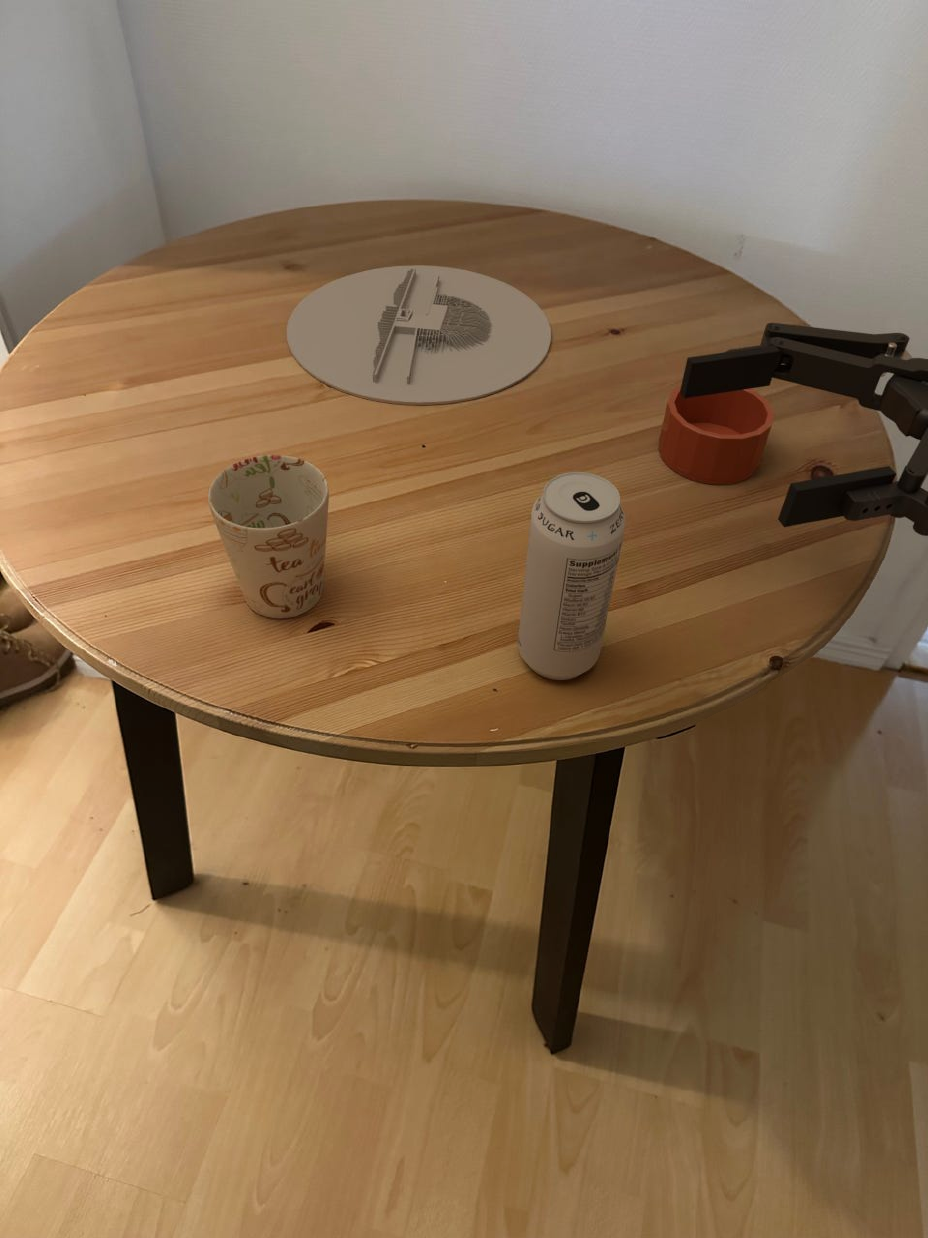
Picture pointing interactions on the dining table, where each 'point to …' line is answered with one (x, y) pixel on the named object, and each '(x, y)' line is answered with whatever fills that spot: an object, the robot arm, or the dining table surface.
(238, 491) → the mug
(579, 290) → the dining table surface
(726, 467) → the holder
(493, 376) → the plate
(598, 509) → the energy drink can
